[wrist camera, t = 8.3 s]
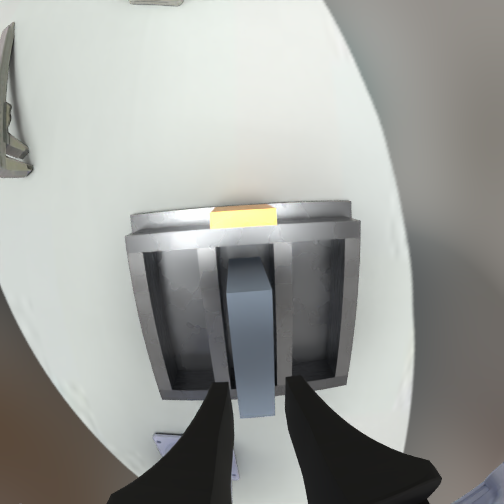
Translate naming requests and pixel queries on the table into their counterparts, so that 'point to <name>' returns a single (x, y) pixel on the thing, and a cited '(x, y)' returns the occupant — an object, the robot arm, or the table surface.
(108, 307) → the table surface
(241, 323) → the panel
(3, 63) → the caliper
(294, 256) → the panel rack
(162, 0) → the ink box
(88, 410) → the table surface
